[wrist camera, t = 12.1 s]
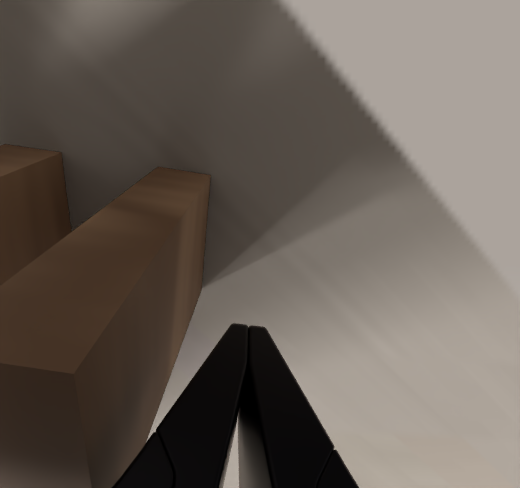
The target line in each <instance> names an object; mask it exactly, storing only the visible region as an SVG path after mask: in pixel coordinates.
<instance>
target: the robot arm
mask: <svg viewBox="0 0 520 488" xmlns="http://www.w3.org/2000/svg"><path fill="white" fill-rule="evenodd" d="M237 417H238V454H239V488H359V487H358V485H357V484H356V482H355V480H354V479H353V477H352V475H351V474H350V472H349V470H348V469H347V467H346V465H345V464H344V462H343V460H342V458H341V457H340V455H339V453H338V451H337V450H334V445H333V443H332V441H331V440H330V438H329V436H328V434H327V433H326V431H325V429H324V428H323V426H322V424H321V422H320V421H319V419H318V417H317V415H316V414H315V412H314V410H313V409H312V407H311V405H310V403H309V402H308V400H307V398H306V397H305V395H304V393H303V391H302V390H301V388H300V386H299V384H298V383H297V381H296V379H295V378H294V376H293V374H292V372H291V371H290V369H289V367H288V365H287V364H286V362H285V360H284V359H283V357H282V355H281V353H280V352H279V350H278V348H277V346H276V345H275V343H274V341H273V340H272V338H271V336H270V334H269V333H268V331H267V329H266V328H265V327H261V326H252V325H251V326H249V328H248V326H247V325H244V324H236V323H233V324H231V325H230V327H229V328H228V329H227V331H226V332H225V334H224V335H223V336H222V338H221V339H220V341H219V342H218V343H217V345H216V346H215V348H214V349H213V350H212V352H211V353H210V355H209V356H208V357H207V359H206V360H205V362H204V363H203V364H202V366H201V367H200V369H199V370H198V371H197V373H196V374H195V376H194V377H193V378H192V380H191V381H190V383H189V384H188V385H187V387H186V388H185V390H184V391H183V392H182V394H181V395H180V397H179V398H178V399H177V401H176V402H175V404H174V405H173V406H172V408H171V409H170V411H169V412H168V413H167V415H166V416H165V417H164V419H163V420H162V422H161V423H160V424H159V426H158V427H157V429H156V432H154V433H153V434H152V435H151V437H150V438H149V440H148V441H147V442H146V444H145V445H144V446H143V448H142V449H141V451H140V452H139V453H138V455H137V456H136V457H135V458H134V460H133V461H132V462H131V464H130V465H129V466H128V468H127V469H126V470H125V472H124V473H123V474H122V476H121V477H120V478H119V479H118V480H117V481H116V483H115V484H114V485H113V486H112V487H111V488H223V485H224V480H225V475H226V470H227V466H228V461H229V456H230V452H231V447H232V442H233V438H234V433H235V428H236V423H237Z"/></svg>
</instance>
